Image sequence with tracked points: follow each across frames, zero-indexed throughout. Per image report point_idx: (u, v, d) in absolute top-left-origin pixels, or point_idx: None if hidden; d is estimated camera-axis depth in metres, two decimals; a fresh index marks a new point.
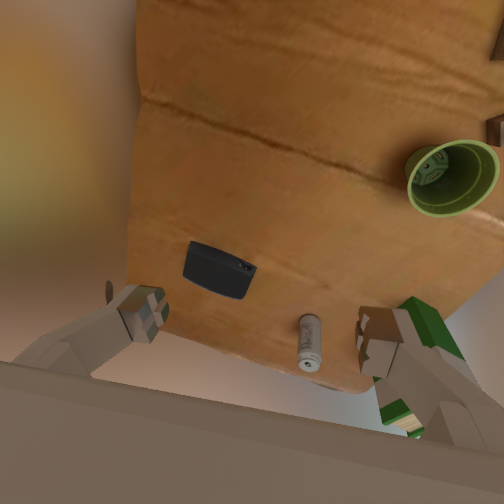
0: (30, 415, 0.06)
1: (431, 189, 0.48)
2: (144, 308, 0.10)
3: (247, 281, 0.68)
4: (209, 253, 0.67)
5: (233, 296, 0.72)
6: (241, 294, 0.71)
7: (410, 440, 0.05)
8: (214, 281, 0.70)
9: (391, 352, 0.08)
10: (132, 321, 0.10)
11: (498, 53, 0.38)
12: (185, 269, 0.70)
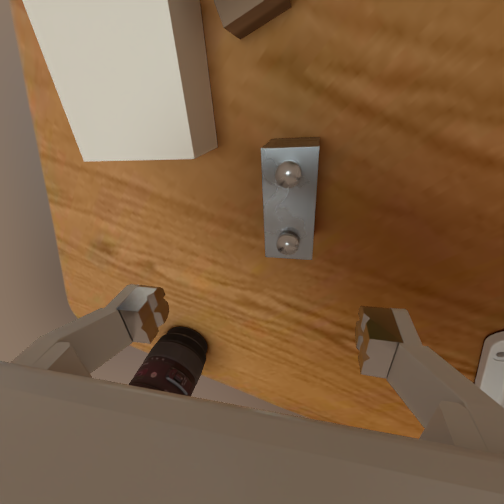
0: (30, 415, 0.06)
1: None
2: (143, 308, 0.10)
3: None
4: None
5: None
6: None
7: (410, 440, 0.05)
8: None
9: (391, 352, 0.08)
10: (132, 321, 0.10)
11: None
12: None
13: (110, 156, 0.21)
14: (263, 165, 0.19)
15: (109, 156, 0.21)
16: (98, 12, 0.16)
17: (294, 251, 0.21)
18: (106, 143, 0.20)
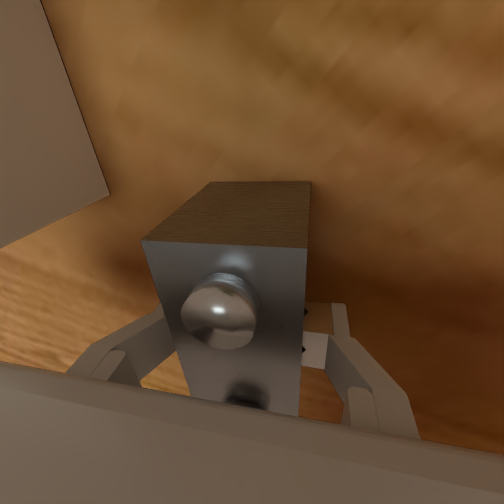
0: (30, 415, 0.06)
1: None
2: None
3: None
4: None
5: None
6: None
7: (410, 440, 0.05)
8: None
9: (323, 343, 0.08)
10: None
11: None
12: None
13: None
14: (157, 279, 0.07)
15: None
16: None
17: None
18: None
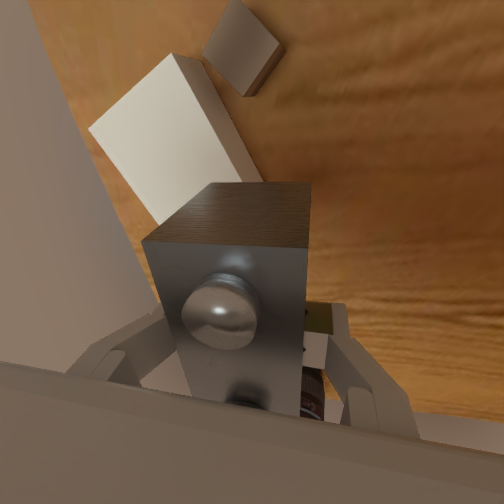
0: (30, 415, 0.06)
1: None
2: None
3: None
4: None
5: None
6: None
7: (410, 440, 0.05)
8: None
9: (323, 344, 0.08)
10: None
11: None
12: None
13: None
14: (158, 279, 0.07)
15: None
16: (153, 134, 0.21)
17: None
18: None
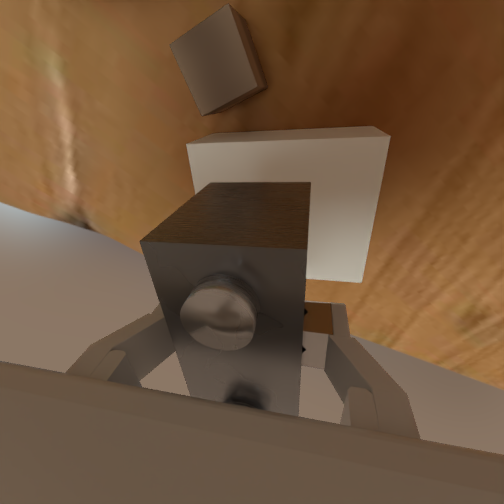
0: (30, 415, 0.06)
1: None
2: None
3: None
4: None
5: None
6: None
7: (410, 440, 0.05)
8: None
9: (323, 343, 0.08)
10: None
11: None
12: None
13: (362, 251, 0.18)
14: (157, 280, 0.07)
15: (362, 252, 0.18)
16: None
17: None
18: (347, 249, 0.18)
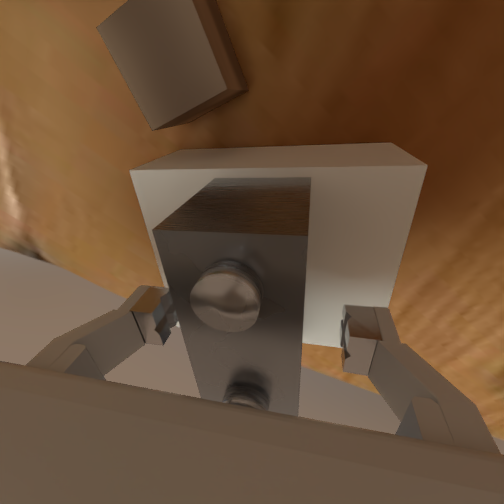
0: (30, 415, 0.06)
1: None
2: (157, 310, 0.10)
3: None
4: None
5: None
6: None
7: (410, 440, 0.05)
8: None
9: (370, 349, 0.08)
10: (145, 323, 0.10)
11: None
12: None
13: None
14: (167, 267, 0.07)
15: None
16: None
17: None
18: None
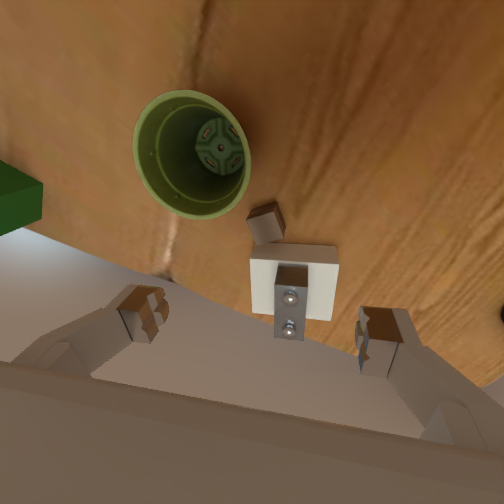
0: (30, 415, 0.06)
1: (189, 159, 0.33)
2: (143, 308, 0.10)
3: None
4: None
5: None
6: None
7: (410, 440, 0.05)
8: None
9: (390, 352, 0.08)
10: (132, 321, 0.10)
11: None
12: None
13: (330, 306, 0.37)
14: (275, 292, 0.31)
15: (330, 307, 0.37)
16: (273, 287, 0.37)
17: (292, 337, 0.34)
18: (323, 305, 0.37)
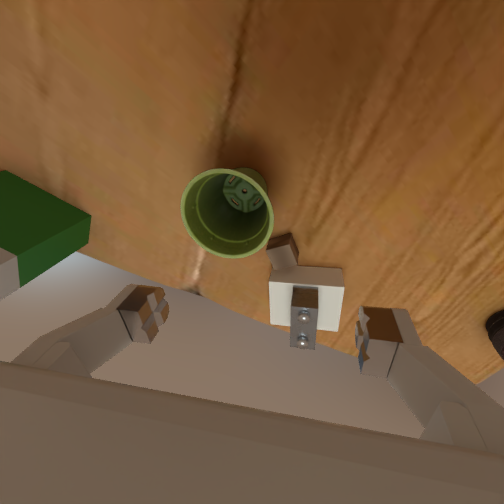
0: (30, 415, 0.06)
1: (218, 202, 0.40)
2: (144, 308, 0.10)
3: None
4: None
5: None
6: None
7: (410, 440, 0.05)
8: None
9: (390, 352, 0.08)
10: (132, 321, 0.10)
11: None
12: None
13: (337, 320, 0.44)
14: (291, 312, 0.38)
15: (337, 320, 0.44)
16: (288, 304, 0.44)
17: (305, 347, 0.41)
18: (331, 319, 0.44)
